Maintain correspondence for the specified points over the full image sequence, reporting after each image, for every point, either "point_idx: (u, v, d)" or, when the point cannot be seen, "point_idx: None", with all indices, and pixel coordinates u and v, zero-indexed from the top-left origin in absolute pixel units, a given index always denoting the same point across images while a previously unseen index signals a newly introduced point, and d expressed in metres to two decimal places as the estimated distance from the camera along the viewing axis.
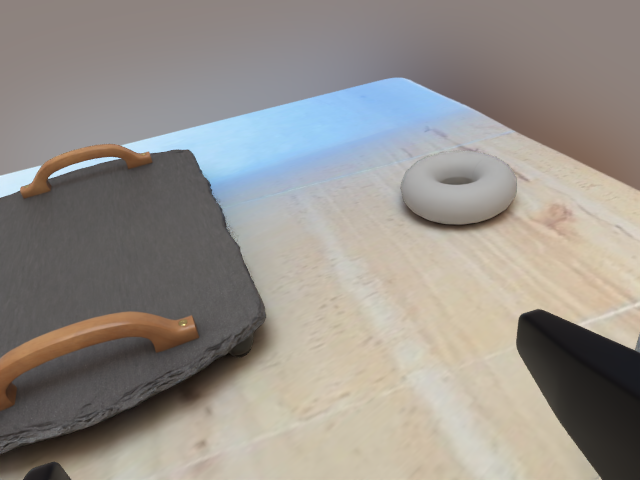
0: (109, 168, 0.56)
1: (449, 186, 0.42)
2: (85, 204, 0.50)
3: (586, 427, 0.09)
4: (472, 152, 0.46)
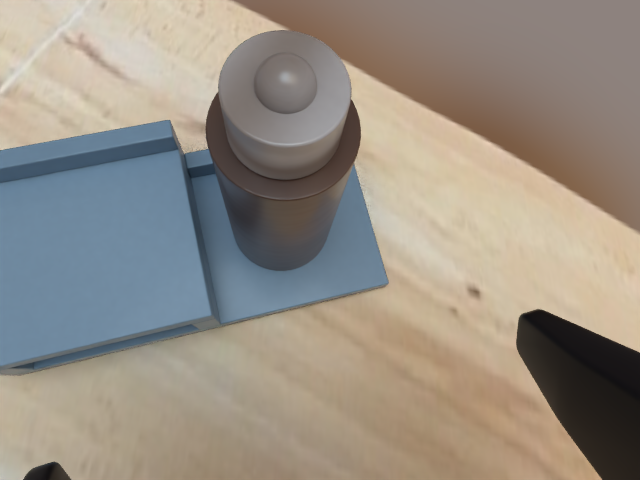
0: None
1: None
2: None
3: (586, 427, 0.09)
4: None
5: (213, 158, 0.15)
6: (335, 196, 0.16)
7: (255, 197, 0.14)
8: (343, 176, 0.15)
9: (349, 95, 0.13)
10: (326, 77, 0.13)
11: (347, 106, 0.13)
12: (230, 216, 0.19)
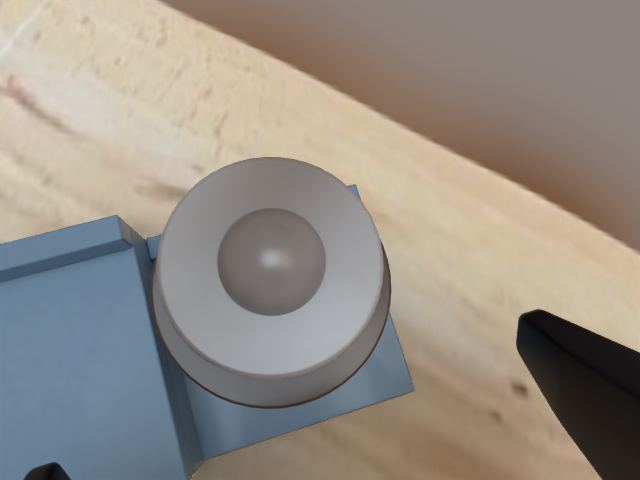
0: None
1: None
2: None
3: (586, 427, 0.09)
4: None
5: (164, 343, 0.09)
6: None
7: (233, 402, 0.09)
8: (368, 357, 0.10)
9: (381, 271, 0.08)
10: (340, 240, 0.08)
11: (378, 292, 0.08)
12: None
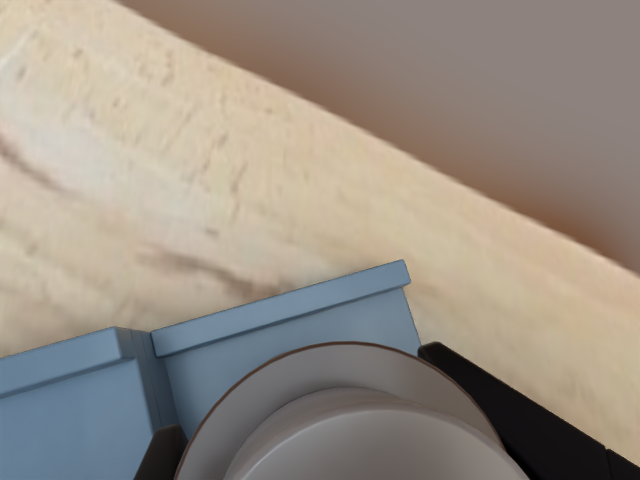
0: None
1: None
2: None
3: None
4: None
5: None
6: None
7: None
8: None
9: None
10: None
11: None
12: None
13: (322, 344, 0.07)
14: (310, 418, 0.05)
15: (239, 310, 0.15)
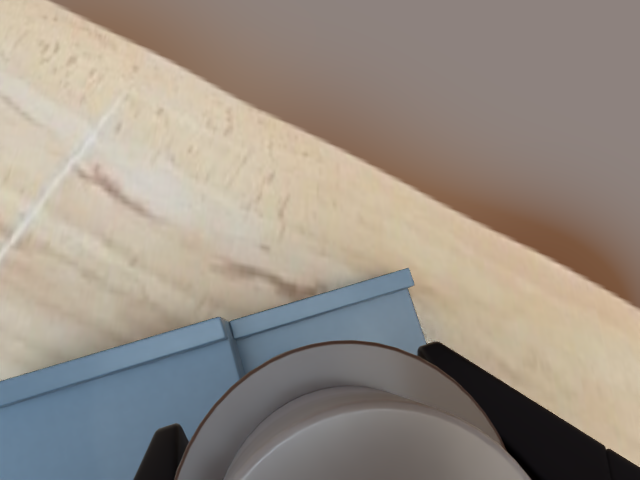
0: None
1: None
2: None
3: None
4: None
5: None
6: None
7: None
8: None
9: None
10: None
11: None
12: None
13: (322, 343, 0.07)
14: (310, 417, 0.05)
15: (291, 305, 0.21)
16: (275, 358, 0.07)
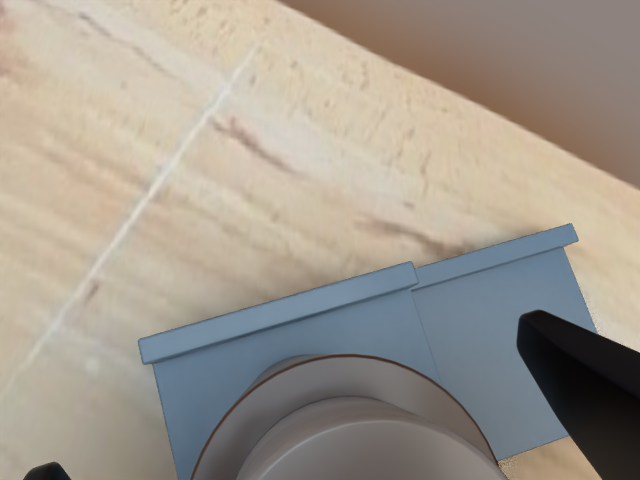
0: None
1: None
2: None
3: (586, 427, 0.09)
4: None
5: None
6: None
7: None
8: None
9: None
10: None
11: None
12: None
13: (325, 357, 0.07)
14: (315, 428, 0.05)
15: (454, 260, 0.20)
16: (281, 370, 0.07)
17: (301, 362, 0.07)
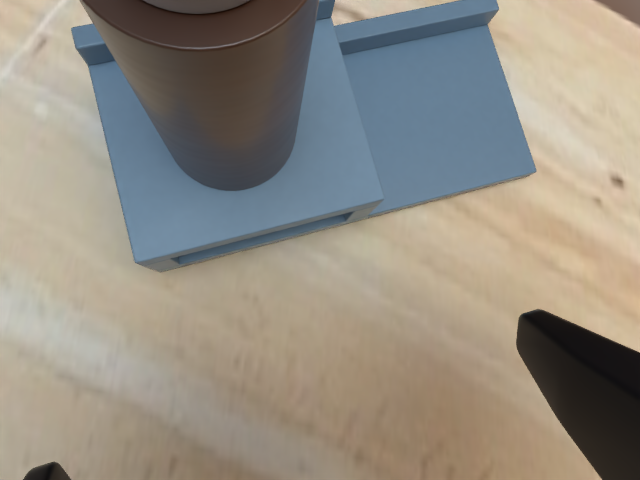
0: None
1: None
2: None
3: (586, 427, 0.09)
4: None
5: None
6: (290, 57, 0.10)
7: (146, 46, 0.08)
8: (299, 10, 0.09)
9: None
10: None
11: None
12: (142, 105, 0.13)
13: None
14: None
15: (381, 19, 0.21)
16: None
17: None
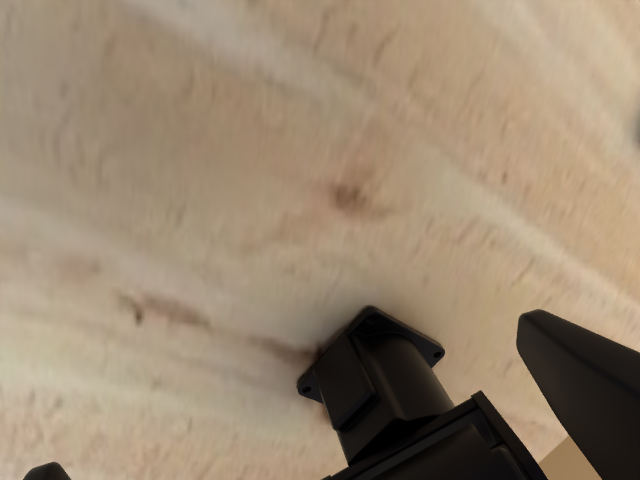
0: None
1: None
2: None
3: (586, 427, 0.09)
4: None
5: None
6: None
7: None
8: None
9: None
10: None
11: None
12: None
13: None
14: None
15: None
16: None
17: None
